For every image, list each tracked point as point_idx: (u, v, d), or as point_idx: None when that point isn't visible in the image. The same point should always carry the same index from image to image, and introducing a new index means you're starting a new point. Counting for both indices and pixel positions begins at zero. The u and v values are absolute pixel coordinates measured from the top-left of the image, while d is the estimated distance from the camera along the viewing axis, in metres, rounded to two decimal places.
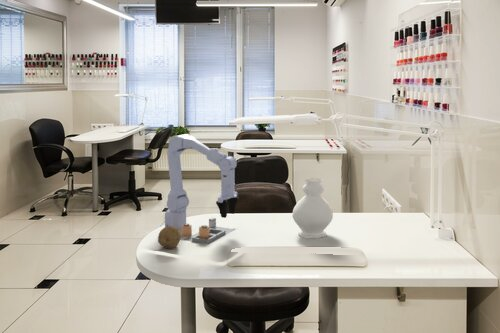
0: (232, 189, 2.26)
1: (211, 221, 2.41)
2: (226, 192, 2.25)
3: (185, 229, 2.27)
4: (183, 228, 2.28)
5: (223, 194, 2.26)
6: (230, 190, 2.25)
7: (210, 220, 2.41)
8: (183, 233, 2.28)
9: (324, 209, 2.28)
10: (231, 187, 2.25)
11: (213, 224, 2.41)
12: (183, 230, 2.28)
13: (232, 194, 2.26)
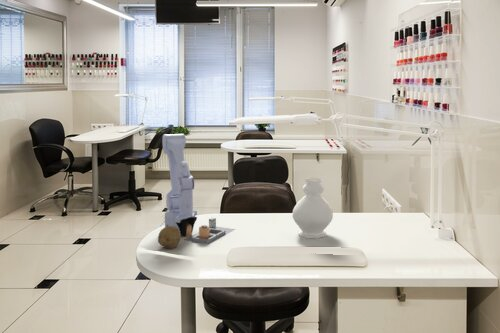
0: (190, 209, 2.26)
1: (211, 221, 2.41)
2: (183, 211, 2.26)
3: None
4: None
5: (181, 214, 2.26)
6: (188, 210, 2.26)
7: (210, 220, 2.41)
8: None
9: (324, 209, 2.28)
10: (189, 207, 2.26)
11: (213, 224, 2.41)
12: None
13: (190, 214, 2.27)
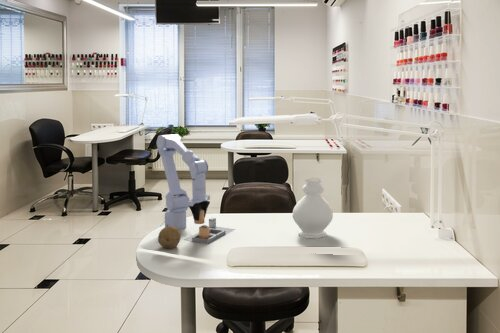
0: (203, 192, 2.25)
1: (211, 221, 2.41)
2: (196, 195, 2.24)
3: None
4: None
5: (194, 198, 2.25)
6: (201, 194, 2.25)
7: (210, 220, 2.41)
8: None
9: (324, 209, 2.28)
10: (202, 191, 2.24)
11: (213, 224, 2.41)
12: None
13: (203, 198, 2.25)
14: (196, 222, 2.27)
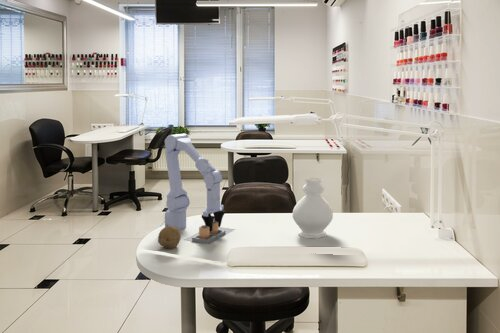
0: (217, 203, 2.26)
1: None
2: (211, 205, 2.25)
3: (213, 226, 2.28)
4: None
5: (208, 208, 2.26)
6: (216, 204, 2.26)
7: None
8: None
9: (324, 209, 2.28)
10: (216, 201, 2.26)
11: None
12: None
13: (217, 208, 2.26)
14: None
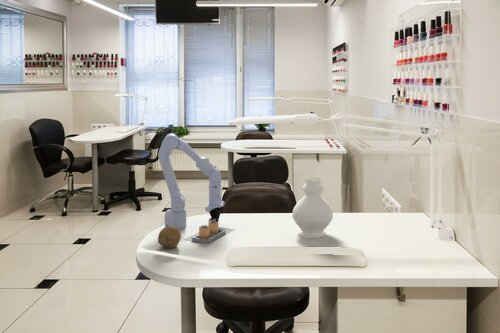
0: (219, 199, 2.41)
1: None
2: (213, 201, 2.40)
3: (213, 226, 2.28)
4: (210, 225, 2.28)
5: (210, 204, 2.41)
6: (217, 200, 2.41)
7: (210, 220, 2.41)
8: (210, 230, 2.28)
9: (324, 209, 2.28)
10: (218, 197, 2.41)
11: None
12: (210, 227, 2.28)
13: (219, 204, 2.41)
14: None
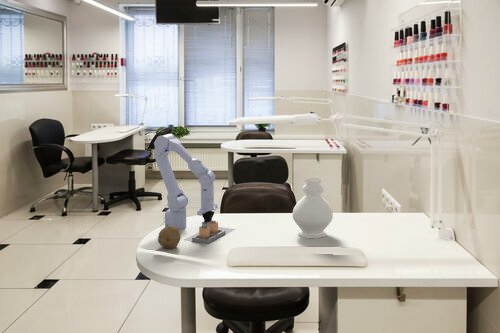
0: (211, 202, 2.35)
1: (204, 224, 2.35)
2: (205, 205, 2.34)
3: (212, 226, 2.28)
4: (210, 225, 2.28)
5: (203, 207, 2.35)
6: (209, 203, 2.34)
7: (203, 223, 2.35)
8: (210, 230, 2.28)
9: (324, 209, 2.28)
10: (210, 200, 2.34)
11: None
12: (210, 227, 2.28)
13: (211, 207, 2.35)
14: None
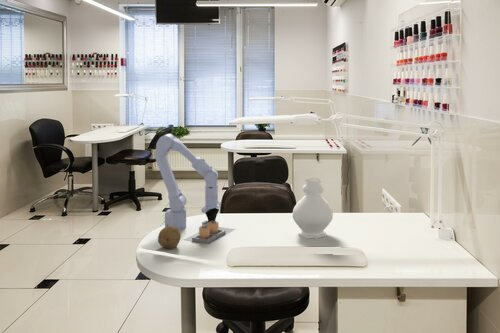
0: (215, 200, 2.38)
1: (204, 224, 2.35)
2: (209, 202, 2.37)
3: (212, 226, 2.28)
4: (210, 225, 2.28)
5: (207, 204, 2.38)
6: (214, 201, 2.38)
7: (203, 223, 2.35)
8: (210, 230, 2.28)
9: (324, 209, 2.28)
10: (214, 198, 2.38)
11: None
12: (210, 227, 2.28)
13: (215, 204, 2.38)
14: None
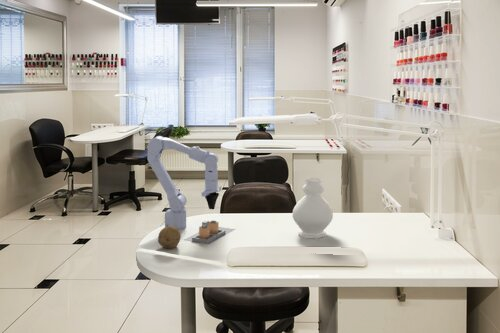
0: (215, 184, 2.37)
1: (204, 224, 2.35)
2: (209, 186, 2.36)
3: (212, 226, 2.28)
4: (210, 225, 2.28)
5: (207, 188, 2.37)
6: (213, 185, 2.36)
7: (203, 223, 2.35)
8: (210, 230, 2.28)
9: (324, 209, 2.28)
10: (214, 182, 2.36)
11: None
12: (210, 227, 2.28)
13: (215, 188, 2.37)
14: None
